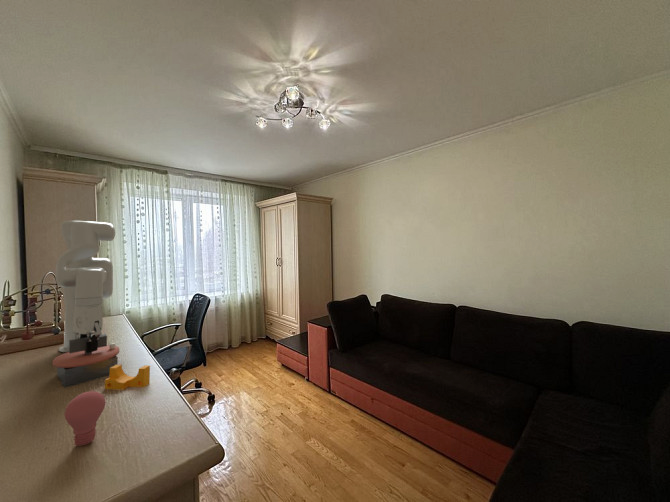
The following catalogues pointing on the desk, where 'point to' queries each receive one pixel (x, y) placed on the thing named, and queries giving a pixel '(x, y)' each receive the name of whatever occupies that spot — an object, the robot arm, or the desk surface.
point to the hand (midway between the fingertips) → (87, 350)
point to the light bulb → (85, 415)
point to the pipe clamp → (127, 378)
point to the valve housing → (85, 372)
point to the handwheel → (79, 355)
